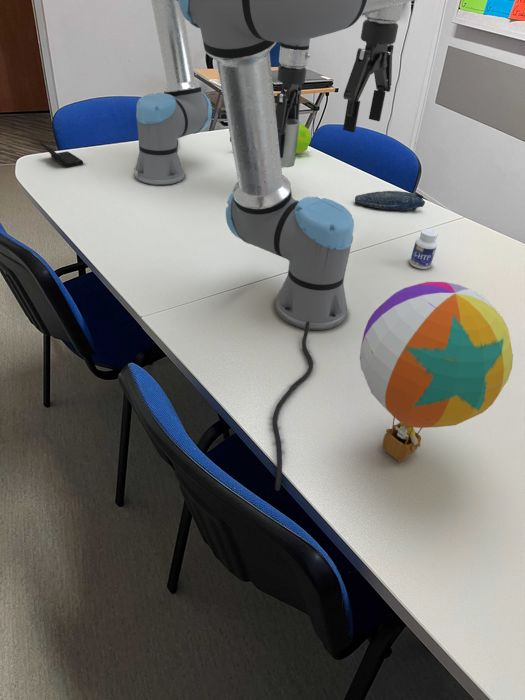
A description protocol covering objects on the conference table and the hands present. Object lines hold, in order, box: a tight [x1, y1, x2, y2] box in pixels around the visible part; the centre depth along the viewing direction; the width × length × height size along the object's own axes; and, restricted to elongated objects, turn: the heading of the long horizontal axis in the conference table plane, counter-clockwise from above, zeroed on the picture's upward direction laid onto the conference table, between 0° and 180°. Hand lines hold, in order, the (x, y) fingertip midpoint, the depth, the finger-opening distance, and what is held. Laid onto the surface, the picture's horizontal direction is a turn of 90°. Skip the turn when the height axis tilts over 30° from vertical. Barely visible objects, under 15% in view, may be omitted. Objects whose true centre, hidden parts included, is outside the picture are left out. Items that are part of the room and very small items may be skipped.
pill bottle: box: [409, 228, 439, 270], centre depth 130 cm, size 5×5×9 cm
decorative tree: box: [229, 123, 312, 155], centre depth 188 cm, size 18×10×30 cm
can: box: [278, 117, 301, 168], centre depth 150 cm, size 7×7×12 cm
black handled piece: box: [38, 141, 84, 168], centre depth 168 cm, size 12×7×10 cm
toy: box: [359, 281, 514, 463], centre depth 73 cm, size 20×20×30 cm
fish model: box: [354, 190, 426, 212], centre depth 159 cm, size 7×21×5 cm, turn 84°
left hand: (283, 152), depth 152 cm, fingers closed on can, 7 cm apart
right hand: (362, 125), depth 124 cm, fingers open, 13 cm apart
